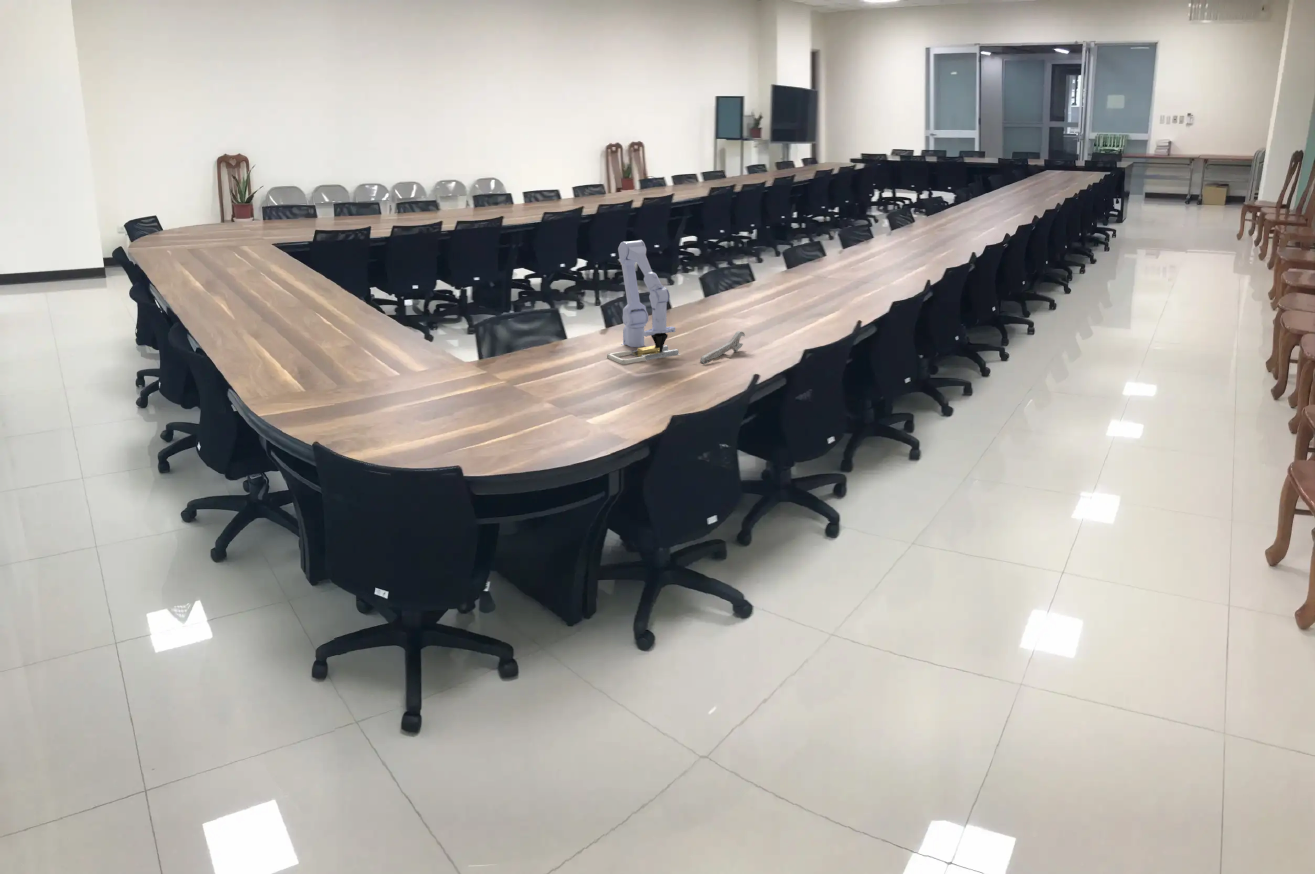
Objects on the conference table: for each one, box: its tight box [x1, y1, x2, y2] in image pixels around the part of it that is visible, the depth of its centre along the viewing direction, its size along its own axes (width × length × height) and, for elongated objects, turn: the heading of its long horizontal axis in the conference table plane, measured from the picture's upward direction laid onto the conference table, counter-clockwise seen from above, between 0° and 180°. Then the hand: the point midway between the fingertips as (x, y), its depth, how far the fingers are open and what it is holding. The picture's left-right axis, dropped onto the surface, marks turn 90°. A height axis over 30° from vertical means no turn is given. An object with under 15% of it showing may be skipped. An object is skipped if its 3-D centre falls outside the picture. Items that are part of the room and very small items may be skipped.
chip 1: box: [637, 346, 651, 357], centre depth 367 cm, size 4×4×3 cm
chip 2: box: [646, 345, 660, 353], centre depth 369 cm, size 4×4×3 cm
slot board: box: [630, 344, 681, 362], centre depth 370 cm, size 12×17×2 cm
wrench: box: [699, 330, 746, 365], centre depth 370 cm, size 8×2×30 cm
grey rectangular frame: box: [606, 349, 645, 365], centre depth 363 cm, size 12×10×2 cm
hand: (659, 351), depth 371 cm, fingers closed
